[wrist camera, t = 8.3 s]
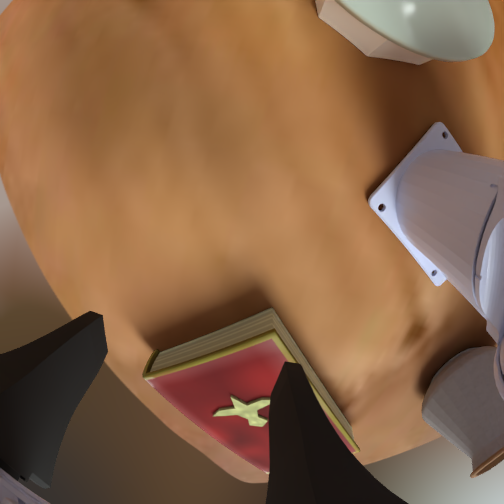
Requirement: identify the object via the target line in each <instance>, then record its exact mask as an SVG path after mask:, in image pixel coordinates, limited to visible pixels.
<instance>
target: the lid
mask: <svg viewBox="0 0 504 504" xmlns="http://www.w3.org/2000/svg"><path fill="white" fill-rule="evenodd" d="M335 1H336V2H337V3H338V4H339V5H340V6H341V7H342V8H343V9H345V10H346V11H347V12H348V13H349V14H350V15H352V16H353V17H354V18H356V19H357V20H358V21H360V22H361V23H362V24H364V25H365V26H367V27H368V28H370V29H371V30H373V31H374V32H375V33H377V34H379V35H381V36H382V37H384V38H386V39H387V40H389V41H391V42H393V43H395V44H396V45H398V46H400V47H402V48H404V49H406V50H409V51H411V52H413V53H415V54H418V55H421V56H424V57H427V58H430V59H434V60H438V61H444V62H462V61H466V60H470V59H474V58H477V57H479V56H481V55H483V54H484V53H485V52H486V51H487V50H488V49H489V47H490V46H491V44H492V41H493V38H494V19H493V14H492V10H491V7H490V4H489V2H488V0H335Z"/></svg>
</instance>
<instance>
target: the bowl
mask: <svg viewBox="0 0 504 504" xmlns="http://www.w3.org/2000/svg"><path fill="white" fill-rule="evenodd" d="M315 3H316V8H317V13H318V17H319V18H320V19H321V20H323V21H324V22H326V23H327V24H328V25H330V26H331V27H332V28H334V29H335V30H336V31H338V32H339V33H340V34H341V35H343V36H344V37H345V38H346V39H348V40H349V41H350V42H351V43H352V44H354V45H355V46H356V47H357V48H358V49H359V50H360V51H362V52H363V53H364V54H365V55H366V56H369V57H377V58H384V59H390V60H397V61H402V62H407V63H413V64H417V65H420V64H423V63H425V62H428V61H430V60H433V59H430V58H427V57H424V56H421V55H418V54H415V53H413V52H411V51H409V50H406V49H404V48H402V47H400V46H398V45H396V44H395V43H393V42H391V41H389V40H387V39H386V38H384V37H382V36H381V35H379V34H377V33H375V32H374V31H373V30H371V29H370V28H368V27H367V26H365V25H364V24H362V23H361V22H360V21H358V20H357V19H356V18H354V17H353V16H352V15H350V14H349V13H348V12H347V11H346V10H345V9H343V8H342V7H341V6H340V5H339V4H338V3H337V2H336V1H335V0H315Z"/></svg>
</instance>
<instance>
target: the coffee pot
mask: <svg viewBox="0 0 504 504" xmlns="http://www.w3.org/2000/svg"><path fill="white" fill-rule="evenodd" d="M496 349H497V348H496V347H492V346H483V347H478V348H475V347H474V348H469V349H467V350H465V351H462V352H460V353H459V354H457V355H456V356H454V357H453V358H452V359H450V360H449V361H448V362H447V363H446V364H445V365H444V366H443V367H441V368H440V370H439V371H438V372H437V373H436V375H435V376H434V377H433V379H432V381H431V383H430V386H429V388H428V390H427V392H426V394H425V397H424V400H423V403H422V418H423V420H424V421H425V422H426V423H428V424H429V425H430V426H431V427H432V428H434V429H435V430H436V431H437V432H439V433H440V434H441V435H442V436H444V437H445V438H446V439H447V440H449V441H450V442H451V443H453V444H454V445H455V446H456V447H457V448H459V449H460V450H461V451H462V452H464V453H465V454H466V455H467V456H469V457H470V458H471V459H472V465H473V472H472V473H471V475H470V477H471V478H474V477H476V476H479V475H481V474H483V473H484V472H486V471H488V470H490V469H491V468H492V467H494V466H496V465H497V464H498V463H500V462H501V461H502V460H503V459H504V400H503V398H502V397H501V395H500V393H499V391H498V388H497V386H496V382H495V378H494V357H495V353H496Z"/></svg>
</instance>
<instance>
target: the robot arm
mask: <svg viewBox="0 0 504 504" xmlns="http://www.w3.org/2000/svg"><path fill="white" fill-rule="evenodd" d="M443 132H444V133H445V138H443V136H442V133H443ZM368 204H369V206H370V207H371V208H372V209H373V210H374V212H375V213H376V214H377V215H378V216H379V217H380V218H381V219H382V220H383V222H384V223H385V224H386V225H387V226H388V227H389V228H390V230H391V231H392V232H393V233H394V234H395V235H396V237H397V238H398V239H399V240H400V241H401V243H402V244H403V245H404V246H405V247H406V249H407V250H408V251H409V252H410V254H411V255H412V256H413V257H414V259H415V260H416V261H417V262H418V264H419V265H420V266H421V268H422V269H423V270H424V271H425V273H426V274H427V275H428V277H429V278H430V279H431V281H432V282H433V283H434V285H436V286H440V285H441V284H442V283H443V282H444V281H445V280H446V279H447V280H448V281H449V282H450V283H451V284H452V285H453V286H454V287H455V288H456V289H457V290H458V291H459V292H460V293H461V294H462V295H463V296H464V297H465V298H466V299H467V300H468V301H469V302H470V303H471V304H472V305H473V307H474V308H475V309H476V310H477V311H478V312H479V313H480V314H481V315H482V316H483V317H484V318H485V319H486V320H487V327H486V331H487V332H488V333H489V334H490V335H491V337H492V338H493V339H494V340H495V342H496V343H497V344H498V346H497V349H496V353H495V357H494V378H495V382H496V386H497V388H498V391H499V393H500V395H501V397H502V398H503V400H504V161H503V160H498V159H494V158H489V157H484V156H479V155H474V154H468V153H463V152H462V150H461V148H460V147H459V145H458V144H457V142H456V141H455V139H454V138H453V136H452V135H451V133H450V132H449V131H448V129H447V128H446V126H445V125H444V124H443V123H442V122H435V123H434V124H433V125H432V126H431V128H430V129H429V130H428V131H427V132H426V134H425V135H424V136H423V137H422V138H421V139H420V141H419V142H418V143H417V144H416V145H415V146H414V148H413V149H412V150H411V151H410V152H409V153H408V154H407V156H406V157H405V158H404V159H403V160H402V161H401V162H400V163H399V165H398V166H397V167H396V168H395V169H394V170H393V171H392V172H391V173H390V175H389V176H388V177H387V178H386V179H385V180H384V181H383V182H382V183H381V184H380V186H379V187H378V188H377V189H376V190H375V191H374V192H373V193H372V194H371V195H370V197H369V199H368ZM380 204H383V209H382V210H379V209H378V206H379V205H380ZM434 270H435V271H434ZM432 271H434V273H432ZM107 352H108V349H107V343H106V337H105V330H104V322H103V315H100V314H98V313H95V312H92V311H89V312H87V313H85V314H83V315H81V316H80V317H78V318H76V319H74V320H72V321H71V322H69V323H67V324H65V325H64V326H62V327H60V328H58V329H56V330H54V331H53V332H51V333H49V334H47V335H45V336H43V337H41V338H39V339H37V340H35V341H33V342H31V343H29V344H27V345H24V346H22V347H20V348H17V349H14V350H12V351H9V352H6V353H3V354H0V504H50V503H48V502H47V501H45V500H44V499H42V498H40V497H39V496H37V495H36V494H34V493H33V492H31V491H30V490H29V489H27V488H26V487H25V486H23V485H22V484H20V483H19V482H18V479H19V477H20V478H21V479H23V480H24V481H26V482H27V481H28V480H29V479H30V480H32V481H33V482H34V483H36V484H37V485H39V486H41V487H42V488H49V487H51V480H52V475H53V470H54V466H55V462H56V458H57V455H58V451H59V448H60V445H61V442H62V439H63V436H64V433H65V431H66V428H67V426H68V424H69V421H70V419H71V417H72V415H73V413H74V411H75V409H76V407H77V406H78V404H79V402H80V401H81V399H82V398H83V396H84V394H85V393H86V391H87V389H88V388H89V386H90V385H91V383H92V381H93V380H94V378H95V377H96V375H97V373H98V372H99V370H100V368H101V366H102V364H103V361H104V359H105V357H106V355H107ZM269 459H270V467H269V481H268V491H267V498H266V504H408V503H407V502H405V501H403V500H402V499H401V498H399V497H398V496H396V495H395V494H394V493H392V492H391V491H390V490H388V489H387V488H386V487H385V486H383V485H382V484H381V483H380V482H379V481H378V480H376V479H375V478H374V477H373V476H372V475H371V473H370V472H369V471H368V470H367V469H365V467H364V466H363V465H362V464H361V463H360V462H359V461H358V460H357V459H356V457H355V456H354V455H353V454H352V453H351V451H350V450H349V449H348V448H347V446H346V445H345V444H344V442H343V441H342V439H341V438H340V437H339V435H338V434H337V432H336V431H335V429H334V427H333V426H332V424H331V423H330V421H329V419H328V418H327V416H326V414H325V412H324V410H323V409H322V407H321V405H320V403H319V401H318V399H317V397H316V395H315V393H314V391H313V389H312V387H311V385H310V383H309V381H308V378H307V376H306V374H305V372H304V369H303V367H302V365H301V364H299V363H292V362H286V361H285V362H284V364H283V367H282V369H281V372H280V374H279V376H278V379H277V381H276V383H275V385H274V388H273V390H272V392H271V397H270V406H269Z"/></svg>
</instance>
